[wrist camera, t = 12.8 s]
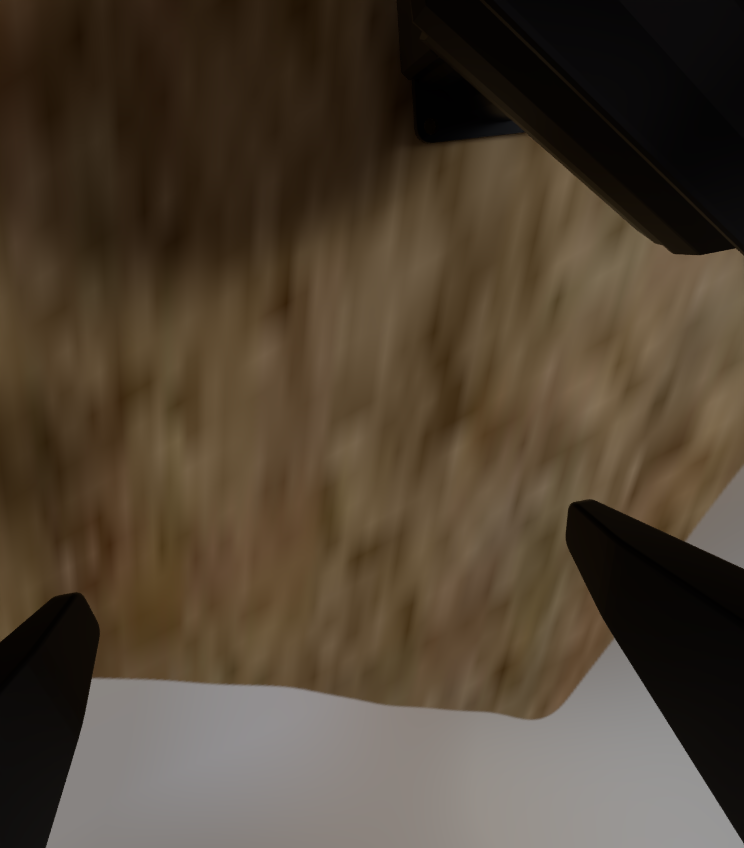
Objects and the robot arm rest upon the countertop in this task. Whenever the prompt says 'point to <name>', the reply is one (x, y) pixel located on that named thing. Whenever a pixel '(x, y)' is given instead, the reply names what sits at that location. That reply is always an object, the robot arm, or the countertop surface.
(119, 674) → the countertop surface
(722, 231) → the robot arm
